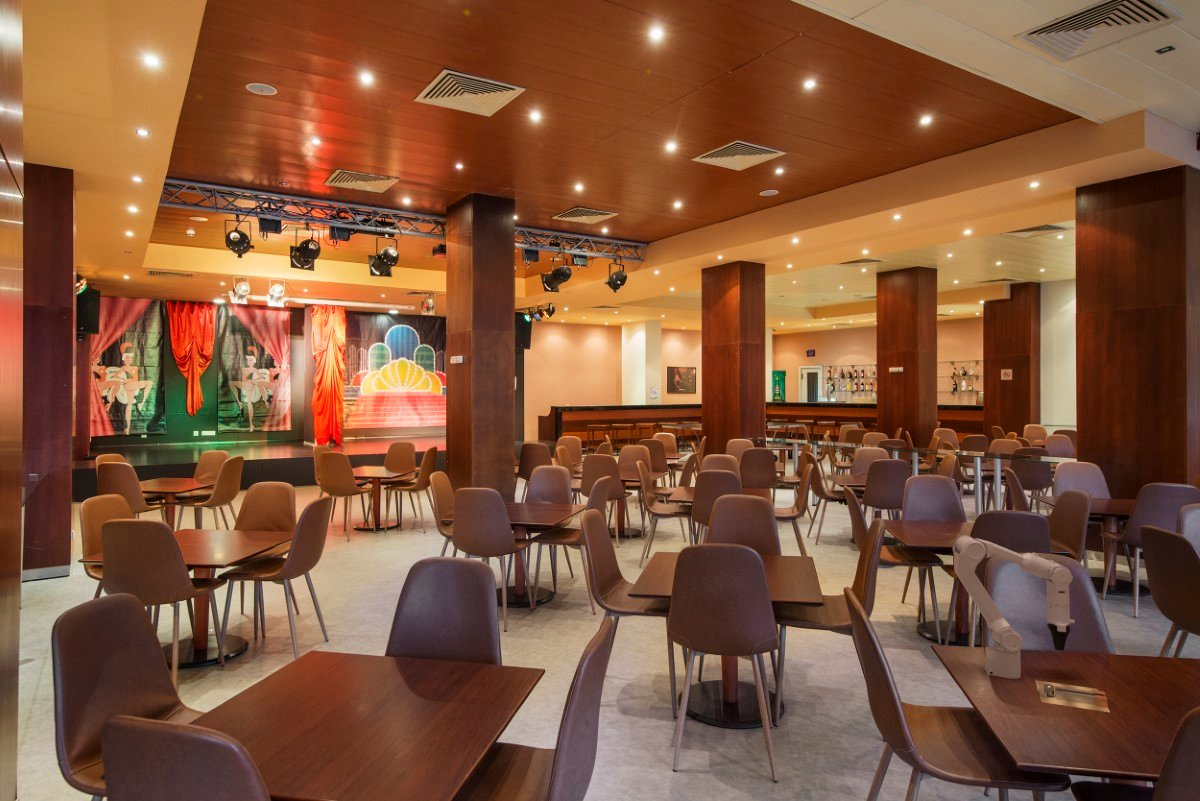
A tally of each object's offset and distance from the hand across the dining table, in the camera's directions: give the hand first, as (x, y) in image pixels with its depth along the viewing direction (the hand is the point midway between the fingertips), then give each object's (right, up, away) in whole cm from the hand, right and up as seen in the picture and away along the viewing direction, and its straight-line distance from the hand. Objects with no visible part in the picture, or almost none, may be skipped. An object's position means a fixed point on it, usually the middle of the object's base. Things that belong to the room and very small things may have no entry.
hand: (1059, 649), depth 210 cm
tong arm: (-5, -7, -16) cm, 19 cm away
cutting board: (-6, -9, -14) cm, 18 cm away
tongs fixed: (-7, -8, -17) cm, 20 cm away
